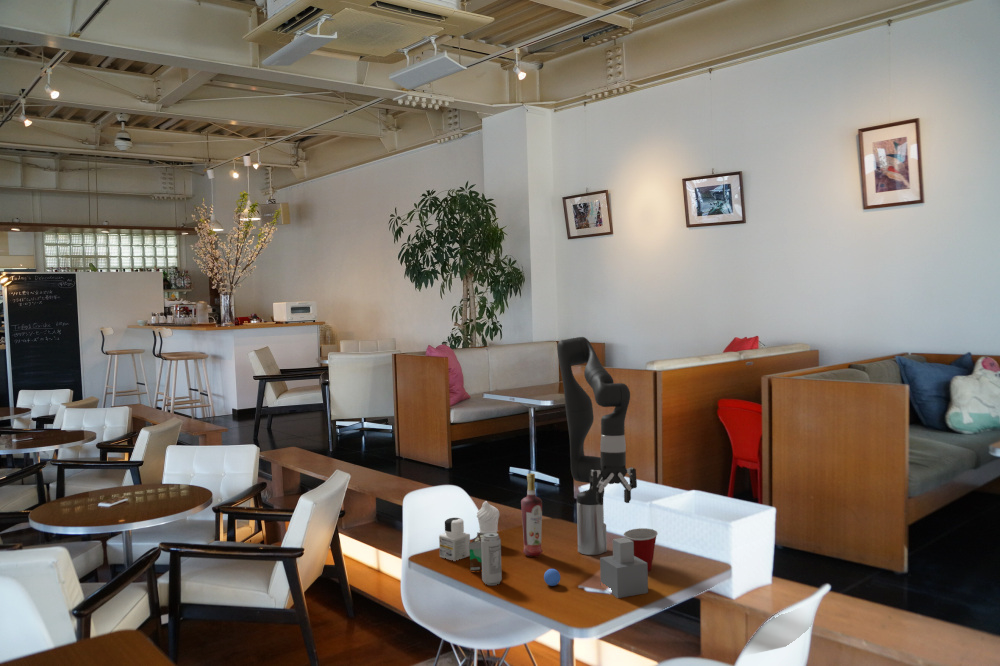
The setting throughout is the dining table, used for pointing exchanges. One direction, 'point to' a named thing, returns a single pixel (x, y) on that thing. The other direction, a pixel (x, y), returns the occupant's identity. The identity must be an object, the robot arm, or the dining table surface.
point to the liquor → (531, 519)
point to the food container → (476, 553)
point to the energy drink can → (491, 558)
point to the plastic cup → (643, 543)
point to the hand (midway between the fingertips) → (613, 503)
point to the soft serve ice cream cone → (488, 518)
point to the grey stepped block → (624, 570)
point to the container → (454, 540)
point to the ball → (552, 577)
